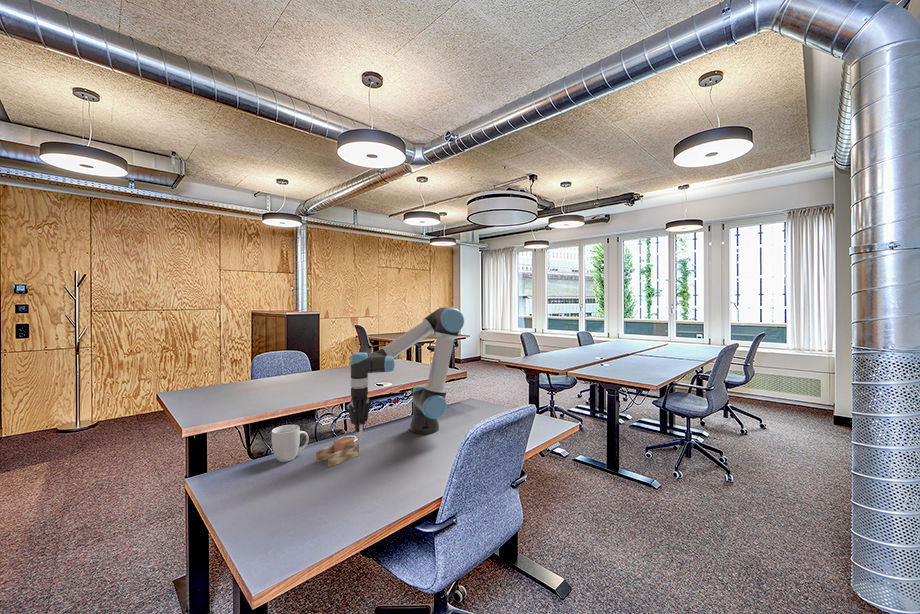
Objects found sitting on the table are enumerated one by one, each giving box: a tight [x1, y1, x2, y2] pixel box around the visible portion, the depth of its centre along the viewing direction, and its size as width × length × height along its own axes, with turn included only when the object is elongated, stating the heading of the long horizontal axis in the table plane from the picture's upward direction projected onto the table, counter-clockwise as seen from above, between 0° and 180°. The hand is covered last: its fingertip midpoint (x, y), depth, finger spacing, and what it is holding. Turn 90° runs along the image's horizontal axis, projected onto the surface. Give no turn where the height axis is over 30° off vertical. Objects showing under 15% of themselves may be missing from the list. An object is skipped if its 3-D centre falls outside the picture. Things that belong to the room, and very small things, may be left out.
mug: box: [271, 424, 310, 463], centre depth 162 cm, size 15×11×13 cm
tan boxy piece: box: [315, 443, 360, 468], centre depth 161 cm, size 15×10×6 cm
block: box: [333, 435, 355, 453], centre depth 163 cm, size 6×6×7 cm
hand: (359, 438), depth 170 cm, fingers closed
